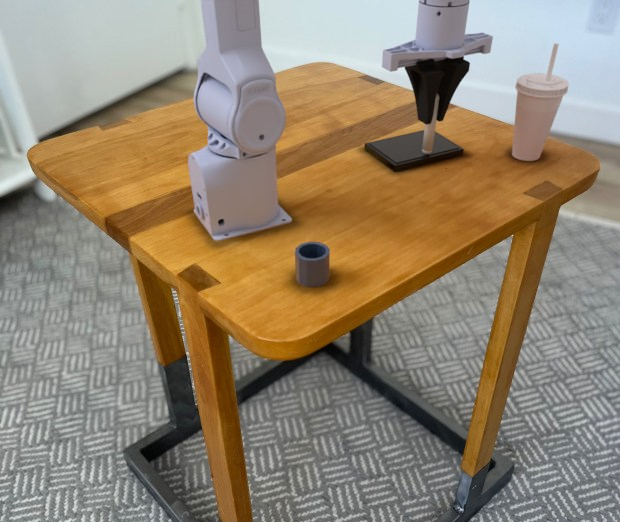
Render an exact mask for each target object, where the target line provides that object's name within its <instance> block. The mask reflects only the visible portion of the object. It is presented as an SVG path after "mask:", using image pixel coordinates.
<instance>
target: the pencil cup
mask: <svg viewBox="0 0 620 522" xmlns="http://www.w3.org/2000/svg"><path fill="white" fill-rule="evenodd" d="M330 252H331V249H330V247H329V246H328V245H327V244H325V243H322V242H319V241H307V242H302V243H300V244H299V245H297V246H296V247H295V250H294V264H295V265H294V267H295V280H296V282H297V283H298V284H300V285H301V286H302V287H303V286H304V287H307V288H318V287H321V286H324V285H326V284H328V282H329V280H330V276H331V274H330V273H331V271H330V270H331V269H330V268H331V263H330V262H331V253H330Z"/></svg>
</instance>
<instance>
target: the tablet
mask: <svg viewBox="0 0 620 522" xmlns="http://www.w3.org/2000/svg"><path fill="white" fill-rule="evenodd" d="M423 137H424V129H422V130H418V131H414V132H408V133H404V134H401V135H396V136H391V137H386V138H383V139H378V140H374V141H370V142H365V143H364V149H363V150H364V151H365V152H367V153H368V154H370V155H371V156H372V157H374V158H375V159H376V160H378V161H379V162H380V163H382V164H383V165H385V166H386V167H387V168H388V169H390V170H391V171H393V172H395V173H396V172H397V173H398V172H400V171H404V170H405V171H406V170H408V169H413V168H416V167H420V166H425V165H429V164H433V163H436V162H440V161H445V160H449V159H453V158H457V157H461V156H464V152H465V148H464V147H462V146H460V145H458V144H457V143H456V142H453V141H451V140H450V139H448V138H447V137H445V136H443V135H442V134H440V133H438V132H437V131H435V136H434V143H433V150H432V152H431V153H430V154H424V153H423V151H422V145H423Z"/></svg>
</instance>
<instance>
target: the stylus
mask: <svg viewBox="0 0 620 522" xmlns="http://www.w3.org/2000/svg"><path fill="white" fill-rule="evenodd" d="M438 105H439V94H438V93H437V95H436V99H435V106H434V113H433V118H432V121H431V124H425V123H424V129H423V130H424V137H423V145H422V151H423V153H424V154H430V153H431V152H432V150H433V143H434V136H435V132H436V127H437V113H438Z"/></svg>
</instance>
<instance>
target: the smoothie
mask: <svg viewBox="0 0 620 522" xmlns="http://www.w3.org/2000/svg"><path fill="white" fill-rule="evenodd" d="M558 48H559V43H556V42H555V43H553V46H552V51H551V55H550V60H549V63H548V64H549V65H548V68H547V71H546V73H540V72H538V73H537V72H535V73H534V72H533V73H532V72H531V73H526V74H522V75H520V76H519V77H517V80H516V84H515V86H514V88H515V90H516V91H517V92H516V99H515V101H516V102H515V115H514V126H513V137H512V149H511V156H512V157H513V158H515V159H517V160H519V161H524V162H533V161H538V160H539V159H540V158H541V155H542V152H543V150H544V148H545V146H546V145H545V144H546V142H547V139H548V137H549V135H550V132H551V129H552V127H553V124H554V121H555V118H556V116H557V113H558V111H559V109H560V106H561V103H562V101H563V98H564V96H565V95H566V94H567V93H568V91H569V90H568V89H569V86H570V83H569V81H568V80H567V79H566V78H564V77H562V76H560V75H559V76H558V75H555V74H553V69H554V66H555V62H556V57H557V53H558Z"/></svg>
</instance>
